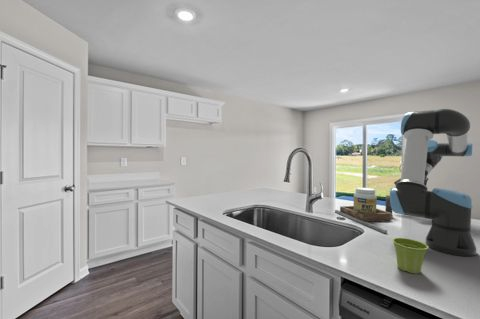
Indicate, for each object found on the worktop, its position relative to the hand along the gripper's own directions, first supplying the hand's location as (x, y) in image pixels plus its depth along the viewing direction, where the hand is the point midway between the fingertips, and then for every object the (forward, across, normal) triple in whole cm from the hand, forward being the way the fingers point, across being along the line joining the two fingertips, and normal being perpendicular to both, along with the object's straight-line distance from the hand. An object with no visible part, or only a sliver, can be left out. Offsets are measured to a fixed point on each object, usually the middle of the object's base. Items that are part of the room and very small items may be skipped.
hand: (400, 194), depth 144 cm
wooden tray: (+24, 0, +6) cm, 24 cm away
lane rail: (+35, -9, +17) cm, 40 cm away
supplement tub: (+27, 0, +9) cm, 29 cm away
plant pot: (+49, -60, +31) cm, 83 cm away
